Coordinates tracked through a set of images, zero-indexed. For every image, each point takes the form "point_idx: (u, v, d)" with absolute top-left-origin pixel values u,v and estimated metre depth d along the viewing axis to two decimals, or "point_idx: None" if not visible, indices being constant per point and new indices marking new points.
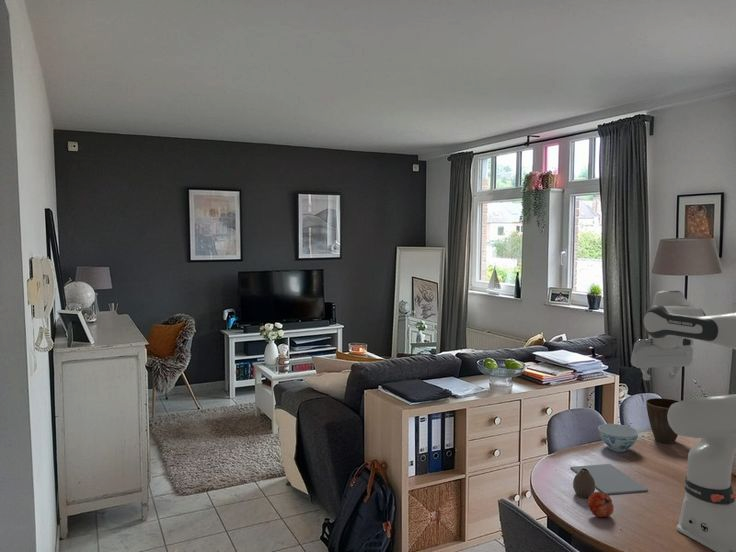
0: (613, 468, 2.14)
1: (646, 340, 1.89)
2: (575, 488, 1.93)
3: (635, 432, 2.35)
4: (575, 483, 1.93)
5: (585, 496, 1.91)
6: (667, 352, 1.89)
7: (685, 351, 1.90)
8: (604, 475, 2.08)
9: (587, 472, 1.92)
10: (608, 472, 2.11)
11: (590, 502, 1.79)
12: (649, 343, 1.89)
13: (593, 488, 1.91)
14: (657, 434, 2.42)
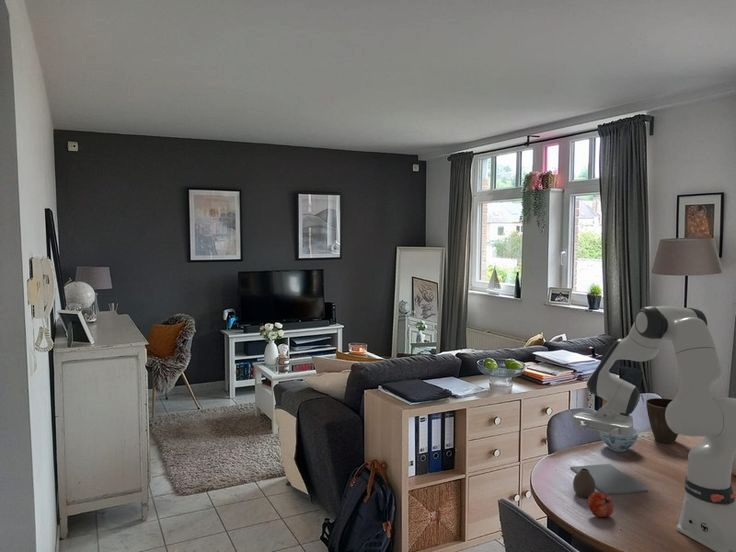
0: (613, 468, 2.14)
1: None
2: (575, 488, 1.93)
3: (635, 432, 2.35)
4: (575, 483, 1.93)
5: (585, 496, 1.91)
6: (606, 419, 2.09)
7: (625, 422, 2.06)
8: (604, 475, 2.08)
9: (587, 472, 1.92)
10: (608, 472, 2.11)
11: (590, 502, 1.79)
12: None
13: (593, 488, 1.91)
14: (657, 434, 2.42)
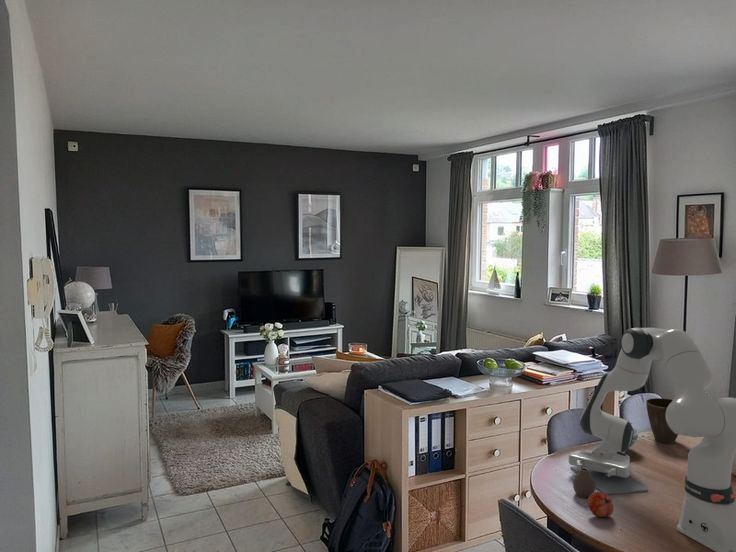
0: None
1: None
2: (575, 488, 1.93)
3: (635, 432, 2.35)
4: (575, 483, 1.93)
5: (585, 496, 1.91)
6: (603, 458, 2.08)
7: (622, 461, 2.04)
8: (604, 475, 2.08)
9: (587, 472, 1.92)
10: None
11: (590, 502, 1.79)
12: None
13: (593, 488, 1.91)
14: (657, 434, 2.42)
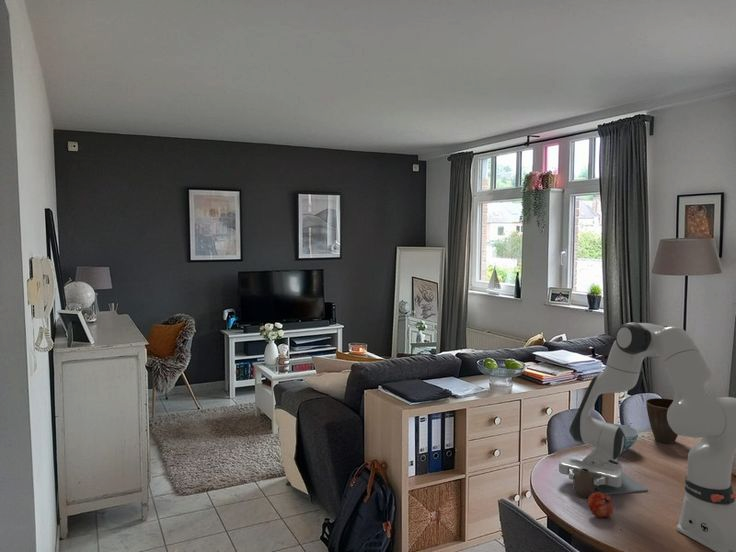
0: None
1: None
2: (575, 488, 1.93)
3: (635, 432, 2.35)
4: (575, 483, 1.93)
5: (585, 496, 1.91)
6: (594, 466, 2.00)
7: (614, 470, 1.96)
8: None
9: (587, 472, 1.92)
10: None
11: (590, 502, 1.79)
12: None
13: (593, 488, 1.91)
14: (657, 434, 2.42)
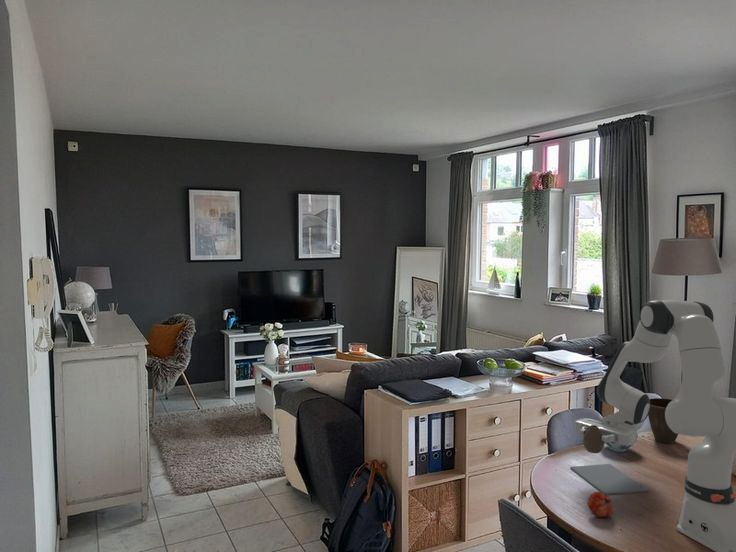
0: (613, 468, 2.14)
1: None
2: (584, 443, 1.99)
3: None
4: (584, 438, 1.99)
5: (593, 451, 1.97)
6: (609, 426, 2.04)
7: (627, 430, 1.99)
8: (604, 475, 2.08)
9: (596, 428, 1.98)
10: (608, 472, 2.11)
11: (590, 502, 1.79)
12: None
13: (601, 444, 1.96)
14: (657, 434, 2.42)
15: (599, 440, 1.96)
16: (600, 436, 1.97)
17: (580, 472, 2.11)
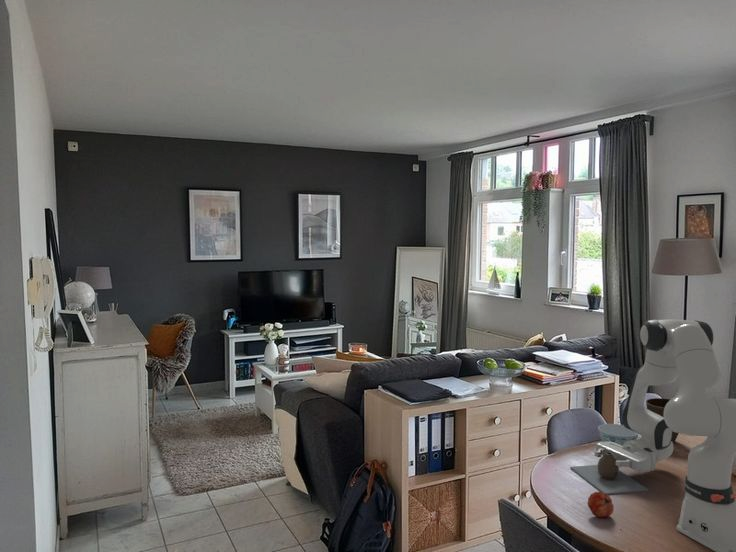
0: None
1: None
2: None
3: (635, 432, 2.35)
4: (598, 464, 2.07)
5: (605, 477, 2.04)
6: (628, 451, 2.09)
7: (643, 457, 2.03)
8: None
9: (609, 455, 2.05)
10: None
11: (590, 502, 1.79)
12: None
13: (613, 471, 2.03)
14: None
15: (611, 467, 2.03)
16: (613, 463, 2.03)
17: (580, 472, 2.11)
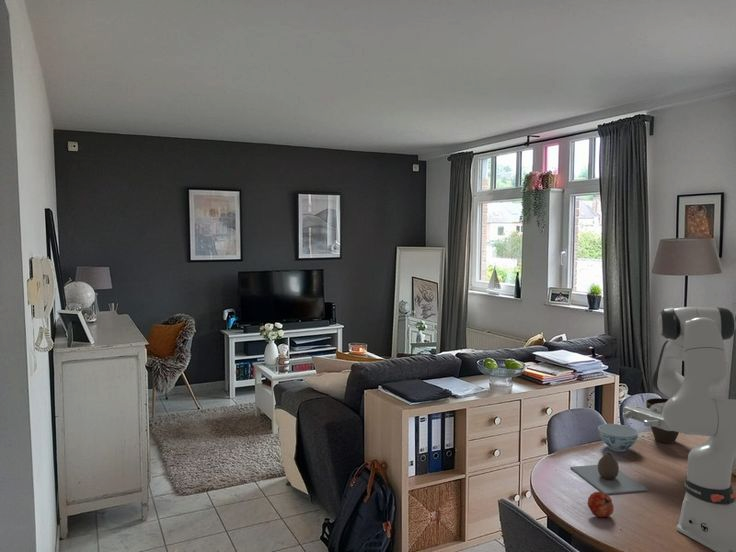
0: None
1: None
2: None
3: (635, 432, 2.35)
4: (598, 464, 2.07)
5: (605, 477, 2.04)
6: (655, 413, 2.13)
7: None
8: None
9: (609, 456, 2.04)
10: None
11: (590, 502, 1.79)
12: None
13: (613, 471, 2.03)
14: (657, 434, 2.42)
15: (611, 467, 2.03)
16: (613, 464, 2.03)
17: (580, 472, 2.11)
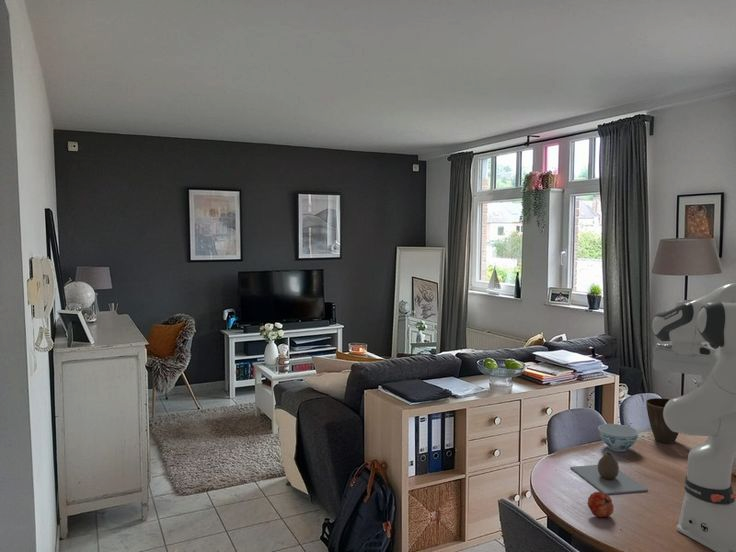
0: None
1: (665, 345, 2.04)
2: None
3: (635, 432, 2.35)
4: (598, 464, 2.07)
5: (605, 477, 2.04)
6: (687, 359, 2.00)
7: (708, 361, 1.96)
8: None
9: (609, 456, 2.04)
10: None
11: (590, 502, 1.79)
12: (668, 348, 2.04)
13: (613, 471, 2.03)
14: (657, 434, 2.42)
15: (611, 467, 2.03)
16: (613, 464, 2.03)
17: (580, 472, 2.11)
